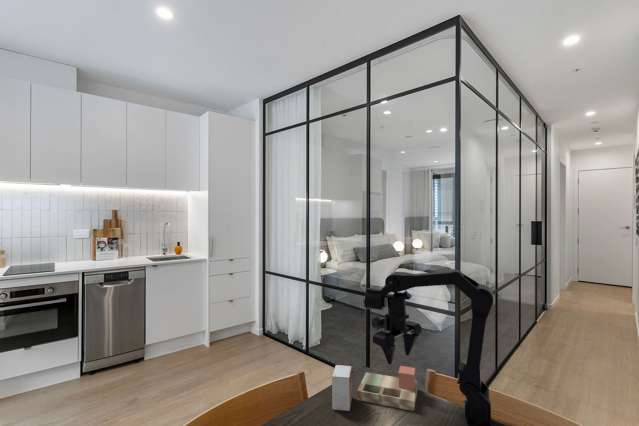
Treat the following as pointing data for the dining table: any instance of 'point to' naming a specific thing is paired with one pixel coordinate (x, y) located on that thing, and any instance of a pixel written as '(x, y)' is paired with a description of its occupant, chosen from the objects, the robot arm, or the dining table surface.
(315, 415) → the dining table surface
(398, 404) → the beige divided tray
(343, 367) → the small box
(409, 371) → the block
